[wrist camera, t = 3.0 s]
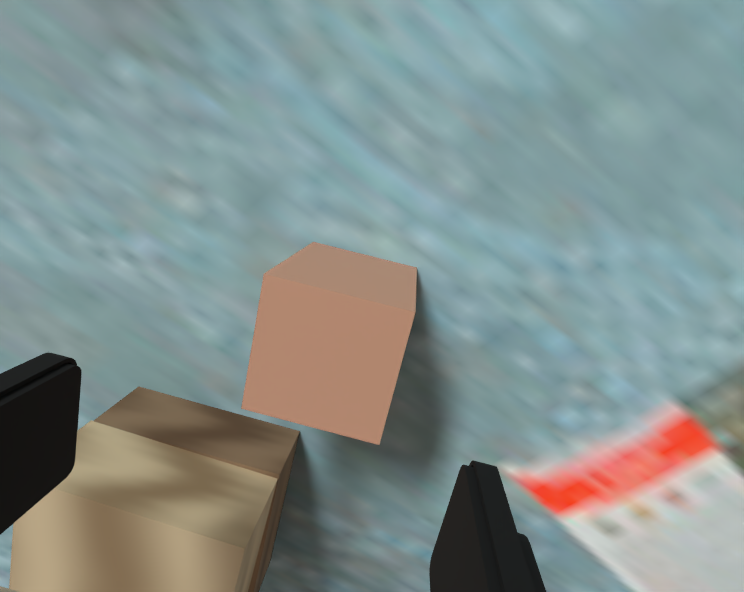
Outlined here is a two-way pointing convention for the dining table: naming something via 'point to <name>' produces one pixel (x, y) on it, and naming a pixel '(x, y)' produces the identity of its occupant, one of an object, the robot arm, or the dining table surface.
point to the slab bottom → (214, 445)
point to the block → (331, 340)
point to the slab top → (142, 521)
